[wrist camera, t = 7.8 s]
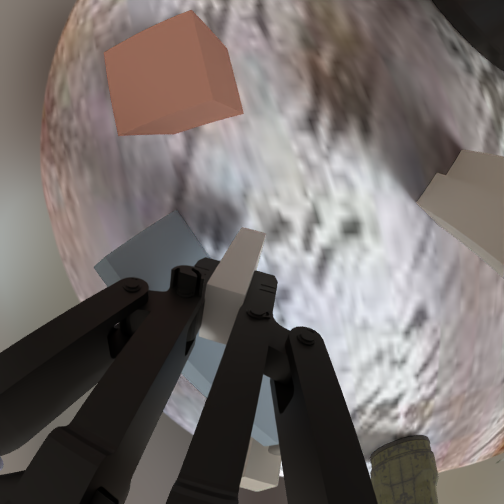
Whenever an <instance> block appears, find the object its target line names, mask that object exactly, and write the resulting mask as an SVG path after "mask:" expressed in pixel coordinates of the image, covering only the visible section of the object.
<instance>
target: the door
mask: <svg viewBox="0 0 504 504" xmlns="http://www.w3.org/2000/svg"><path fill="white" fill-rule="evenodd" d="M205 257H207V258H210V257H209V256H208V254H207V253H206V252H205V250H204V249H203V247H202V246H201V244H200V243H199V242H198V240H197V239H196V237H195V236H194V234H193V233H192V231H191V230H190V228H189V227H188V226H187V224H186V223H185V221H184V220H183V218H182V217H181V215H180V214H179V212H178V211H177V210H175V211H173V212H172V213H170V214H169V215H167V216H165V217H164V218H162V219H161V220H159V221H158V222H156V223H154V224H153V225H151V226H150V227H148V228H147V229H145V230H144V231H142V232H141V233H139V234H138V235H136V236H135V237H133V238H132V239H130V240H129V241H127V242H126V243H124V244H123V245H121V246H120V247H118V248H117V249H115V250H114V251H113V252H111V253H110V254H108V255H107V256H106V257H104V258H103V259H102V260H101V261H100V262H99V263H98V264H96V265H95V266H94V268H95V270H96V271H97V273H98V274H99V276H100V277H101V278H102V280H103V281H104V283H105V284H106V285H107V287H109V286H111V285H112V284H114V283H116V282H118V281H119V280H121V279H124V278H128V277H136V278H140V279H143V280H144V281H146V282H147V283H148V286H149V290H153V291H167V290H168V289H169V288H170V279H171V269H173V268H174V267H176V266H180V265H189V266H194V265H195V264H196V263H197V261H198V260H200V259H203V258H205ZM199 330H200V329H199ZM225 347H226V345H225V344H221V343H218V342H215V341H212V340H208V339H205V338H202V337H199V331H198V333H197V335H196V341H195V345H194V347H193V350H192V352H191V354H190V356H189V358H188V360H187V362H186V364H185V366H184V368H183V370H182V372H181V374H182V375H183V376H184V377H185V378H186V379H187V380H188V381H189V382H190V383H191V384H192V385H193V386H194V387H195V388H197V389H198V390H199V391H200V392H201V393H202V394H203V395H204V396H205V397H206V398H207V397H208V394H209V391H210V389H211V386H212V383H213V380H214V378H215V375H216V372H217V369H218V367H219V364H220V361H221V358H222V356H223V353H224V350H225ZM251 437H253V438H254V439H255V440H256V441H258V442H259V443H260V444H262V445H263V446H269V448H268V452H269V453H271V454H273V455H279V456H281V454H280V447H279V441H278V434H277V427H276V420H275V414H274V407H273V400H272V394H271V387H270V378H269V377H267V376H266V375H264V374H263V379H262V384H261V389H260V394H259V399H258V404H257V409H256V414H255V419H254V424H253V429H252V433H251Z"/></svg>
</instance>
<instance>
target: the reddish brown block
mask: <svg viewBox="0 0 504 504" xmlns="http://www.w3.org/2000/svg"><path fill="white" fill-rule="evenodd" d="M104 57H105V65H106V72H107V79H108V85H109V91H110V97H111V102H112V107H113V113H114V118H115V122H116V127H117V132H118V136H127V135H152V134H177V133H179V132H182V131H185V130H189V129H192V128H195V127H198V126H201V125H204V124H208V123H211V122H215V121H218V120H222V119H225V118H229V117H233V116H237V115H241V114H244V113H243V109H242V105H241V101H240V97H239V93H238V89H237V85H236V81H235V77H234V73H233V70H232V66H231V62H230V58H229V54H228V50H227V48H226V47H225V46H224V45H223V43H222V42H221V41H220V40H219V39H218V38H217V37H216V35H215V34H214V33H213V32H212V31H211V30H210V29H209V28H208V27H207V26H206V25H205V23H204V22H203V21H202V20H201V19H200V18H199V17H198V16H197V15H196V14H195V13H194V12H193V11H192V10H190V11H187V12H184V13H182V14H179V15H177V16H174V17H172V18H170V19H167V20H165V21H163V22H161V23H158V24H156V25H154V26H152V27H150V28H148V29H146V30H144V31H142V32H140V33H138V34H136V35H134V36H132V37H130V38H128V39H126V40H125V41H123V42H121V43H119V44H118V45H116V46H114V47H112V48H111V49H109V50H107V51H106V52H104Z"/></svg>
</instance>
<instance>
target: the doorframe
mask: <svg viewBox="0 0 504 504" xmlns="http://www.w3.org/2000/svg"><path fill="white" fill-rule="evenodd" d="M416 203H417V204H418V205H419V206H420V207H421V208H422V209H423V210H424V211H425V212H426V213H427V214H428V215H429V216H430V217H431V218H432V219H433V220H434V221H435V222H436V223H437V224H438V225H439V226H440V227H441V228H443V229H444V230H445V231H447V232H448V233H449V234H451V235H452V236H453V237H455V238H456V239H457V240H459V241H460V242H461V243H462V244H464V245H465V246H466V247H467V248H469V249H470V250H471V251H472V252H474V253H475V254H476V255H477V256H478V257H480V258H481V259H482V260H483V261H484V262H485V263H487V264H488V265H489V266H490V267H491V268H492V269H493V270H495V271H496V272H497V273H498V274H499V275H500V276H501V277H502V278H503V279H504V157H503V156H498V155H492V154H487V153H481V152H475V151H469V150H461V152H460V154H459V155H458V157H457V159H456V160H455V162H454V163H453V165H452V167H451V168H450V170H449V171H448V173H447V174H446V175H443V174H440V173H436V175H435V176H434V178H433V179H432V181H431V182H430V184H429V185H428V187H427V188H426V190H425V191H424V193H423V194H422V195H421V197H420V198H419V200H418V201H417V202H416ZM268 448H269V446H263V445H262V444H260V443H259V442H258V441H256V440H255V439H254V438H253V437H251V438H250V443H249V447H248V452H247V456H246V461H245V465H244V470H243V474H242V478H241V483H240V487H242V488H246V489H250V490H253V491H256V492H257V491H261V490H265V489H269V488H272V487H276V486H278V479H279V473H280V466H281V456H279V455H273V454H271V453H269V452H268Z"/></svg>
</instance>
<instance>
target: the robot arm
mask: <svg viewBox="0 0 504 504" xmlns="http://www.w3.org/2000/svg"><path fill="white" fill-rule="evenodd" d="M433 2H434V3H435V4H436V6H437V7H438V8H439V9H440V11H441V12H442V13H443V14H444V15H445V17H446V18H447V19H448V20H449V21H450V22H451V23H452V24H453V26H454V27H455V28H456V29H457V30H458V31H459V32H460V33H461V34H462V35H463V36H464V37H465V38H466V39H467V40H468V41H469V42H470V43H471V44H472V45H473V46H474V47H475V48H476V49H477V50H478V51H479V52H480V53H481V54H482V55H483V56H485V57H486V58H487V59H488V60H489V61H491V62H492V63H493V64H494V65H496V66H497V67H498V68H500V69H501V70H503V71H504V0H433ZM265 237H266V233H263V232H259V231H255V230H252V229H248V228H244V227H241V229H240V231H239V232H238V234H237V235H236V237H235V239H234V240H233V242H232V243H231V245H230V247H229V248H228V250H227V251H226V253H225V255H224V256H223V258H222V260H221V261H217V260H214V259H211V258H207V257H205V258H203V259H200V260H198V261H197V263H196V264H195V265H194V266H189V265H180V266H176V267H174V268H173V269H171V279H170V288H169V289H168V290H167V291H153V290H149V286H148V283H147V282H146V281H144V280H143V279H140V278H136V277H128V278H124V279H121V280H119V281H118V282H116V283H114V284H112V285H111V286H109V287H107V288H105V289H104V290H102V291H100V292H98V293H97V294H95V295H93V296H91V297H90V298H88V299H86V300H85V301H83V302H81V303H80V304H78V305H76V306H74V307H73V308H71V309H69V310H68V311H66V312H65V313H63V314H61V315H59V316H58V317H57V318H55V319H53V320H51V321H50V322H48V323H47V324H45V325H43V326H42V327H40V328H38V329H37V330H35V331H34V332H32V333H30V334H29V335H27V336H26V337H24V338H22V339H21V340H20V341H18V342H16V343H15V344H13V345H12V346H10V347H9V348H7V349H6V350H4V351H3V352H1V353H0V456H2V455H5V454H8V453H10V452H12V451H14V450H16V449H18V448H20V447H21V446H22V445H24V444H25V443H27V442H28V441H29V440H30V439H31V438H33V437H34V436H35V435H36V434H37V433H39V432H40V431H41V430H42V429H43V428H44V427H46V426H47V425H48V424H49V423H51V421H53V420H54V419H55V418H56V417H58V416H59V415H60V414H61V413H62V412H64V411H65V410H66V409H67V408H68V407H69V406H71V405H72V404H73V403H74V402H76V401H77V400H78V399H79V398H80V397H81V396H83V395H84V394H85V393H86V392H87V391H89V390H90V389H91V388H92V387H93V386H94V385H96V384H97V383H98V384H97V385H96V386H95V388H94V389H93V391H92V392H91V394H90V395H89V396H88V398H87V399H86V401H85V402H84V404H83V405H82V407H81V408H80V410H79V411H78V412H77V414H76V416H75V417H74V419H73V420H72V421H71V423H70V424H69V425H67V426H62V427H57V428H55V429H54V430H53V431H51V433H50V434H49V435H48V436H47V438H46V439H45V441H44V442H43V444H42V445H41V447H40V448H39V450H38V452H37V453H36V455H35V456H34V458H33V460H32V461H31V463H30V464H29V466H28V467H27V469H26V470H24V471H19V472H14V473H9V474H4V475H0V504H124V503H125V500H126V498H127V496H128V493H129V489H130V483H131V479H132V476H133V474H134V472H135V469H136V467H137V465H138V463H139V461H140V459H141V456H142V454H143V452H144V450H145V448H146V446H147V443H148V442H149V439H150V437H151V435H152V433H153V431H154V429H155V427H156V425H157V422H158V420H159V418H160V416H161V414H162V412H163V410H164V408H165V406H166V404H167V401H168V399H169V397H170V395H171V393H172V391H173V389H174V387H175V385H176V383H177V381H178V378H179V376H180V374H181V372H182V370H183V368H184V366H185V364H186V362H187V360H188V358H189V356H190V354H191V352H192V350H193V347H194V345H195V341H196V335H197V333H198V331H199V337H202V338H205V339H208V340H212V341H215V342H218V343H221V344H225V345H226V347H225V350H224V353H223V356H222V358H221V361H220V364H219V367H218V369H217V372H216V375H215V378H214V380H213V383H212V386H211V389H210V391H209V394H208V397H207V400H206V402H205V405H204V408H203V411H202V413H201V416H200V419H199V422H198V424H197V427H196V430H195V433H194V435H193V438H192V441H191V443H190V446H189V449H188V452H187V454H186V457H185V460H184V462H183V465H182V468H181V470H180V473H179V476H178V478H177V480H176V482H175V483H174V485H173V487H172V489H171V491H170V494H169V497H168V499H167V502H166V504H238V492H239V487H240V483H241V478H242V474H243V470H244V465H245V461H246V456H247V452H248V447H249V443H250V438H251V433H252V429H253V424H254V419H255V414H256V409H257V404H258V399H259V394H260V389H261V384H262V379H263V374H264V375H266V376H267V377H269V378H270V387H271V394H272V400H273V407H274V414H275V420H276V427H277V434H278V441H279V447H280V454H281V461H282V467H283V474H284V480H285V487H286V494H287V500H288V504H378V502H377V499H376V495H375V492H374V489H373V485H372V482H371V479H370V475H369V472H368V469H367V466H366V462H365V459H364V456H363V453H362V450H361V447H360V444H359V441H358V437H357V434H356V431H355V428H354V425H353V422H352V419H351V417H350V414H349V411H348V408H347V405H346V402H345V399H344V396H343V393H342V390H341V388H340V385H339V382H338V379H337V376H336V374H335V371H334V368H333V365H332V363H331V360H330V357H329V354H328V352H327V349H326V346H325V344H324V341H323V339H322V337H321V336H320V334H318V333H317V332H316V331H315V330H313V329H310V328H307V327H303V326H302V327H295V328H293V329H292V330H291V331H289V330H287V329H285V328H284V327H282V326H280V325H279V324H278V323H277V322H276V321H275V319H274V318H273V307H274V301H275V295H276V290H277V284H278V282H277V280H276V278H275V276H274V275H270V274H266V273H263V272H259V271H256V270H257V267H258V263H259V259H260V255H261V252H262V248H263V244H264V240H265ZM117 323H118V324H117ZM116 324H117V325H116ZM199 329H200V330H199ZM2 468H3V460H2V459H1V457H0V470H1V469H2Z"/></svg>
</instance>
